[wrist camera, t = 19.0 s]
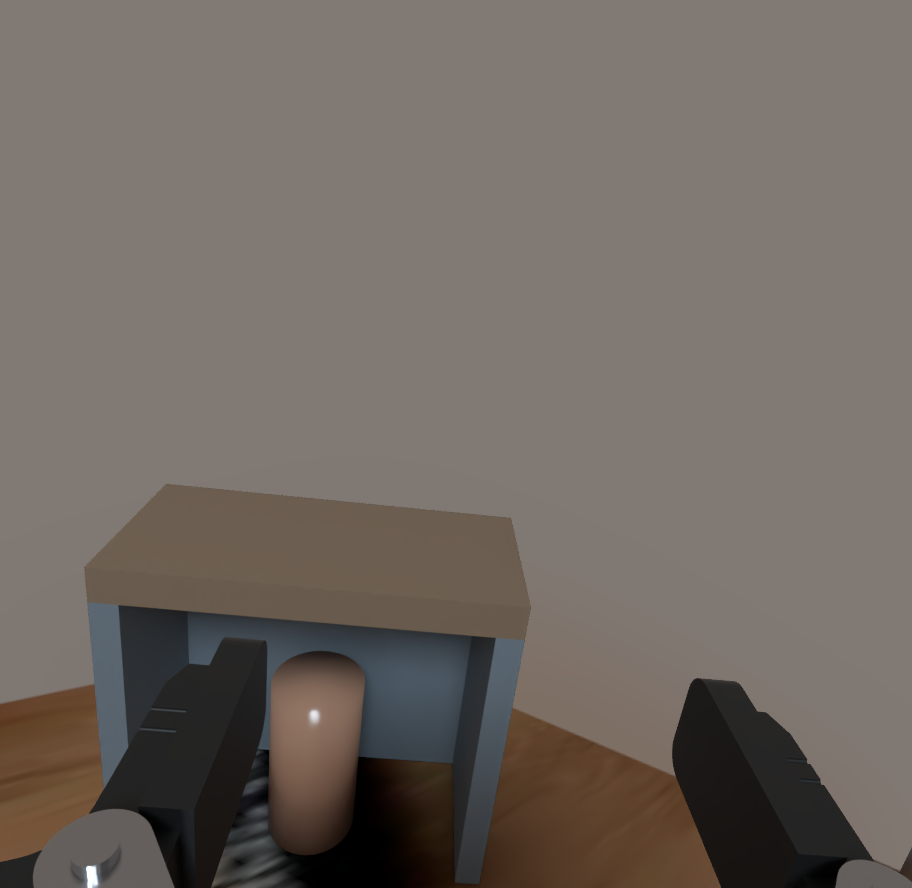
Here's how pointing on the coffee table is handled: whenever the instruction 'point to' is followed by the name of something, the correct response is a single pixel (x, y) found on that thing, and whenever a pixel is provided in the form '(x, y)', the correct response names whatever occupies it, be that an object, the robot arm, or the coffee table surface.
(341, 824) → the pinkish-brown cylinder
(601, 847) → the coffee table surface
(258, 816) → the coffee table surface
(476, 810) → the counter
